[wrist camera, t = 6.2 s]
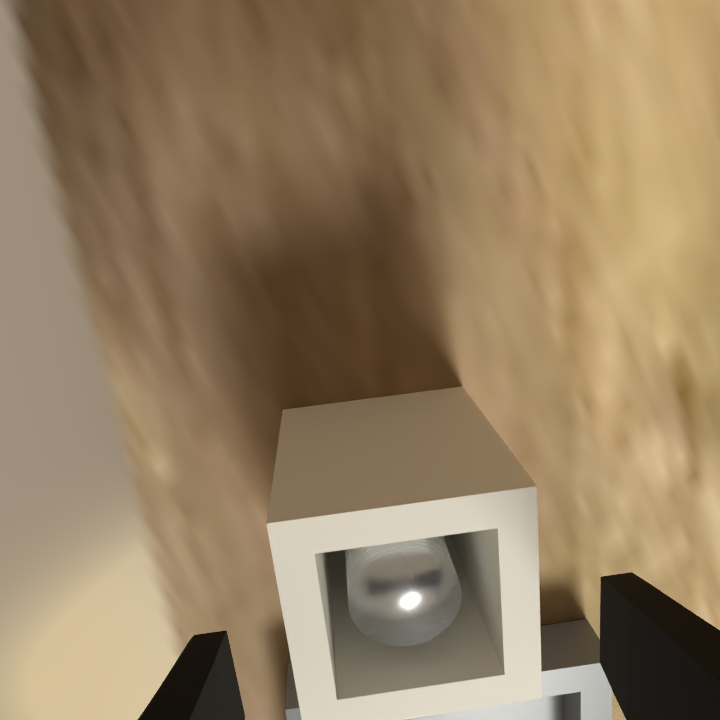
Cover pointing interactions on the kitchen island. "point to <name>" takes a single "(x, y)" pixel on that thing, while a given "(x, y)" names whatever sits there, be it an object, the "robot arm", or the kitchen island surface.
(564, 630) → the tray
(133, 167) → the kitchen island surface
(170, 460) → the kitchen island surface
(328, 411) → the cream block
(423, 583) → the cylinder
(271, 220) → the kitchen island surface
